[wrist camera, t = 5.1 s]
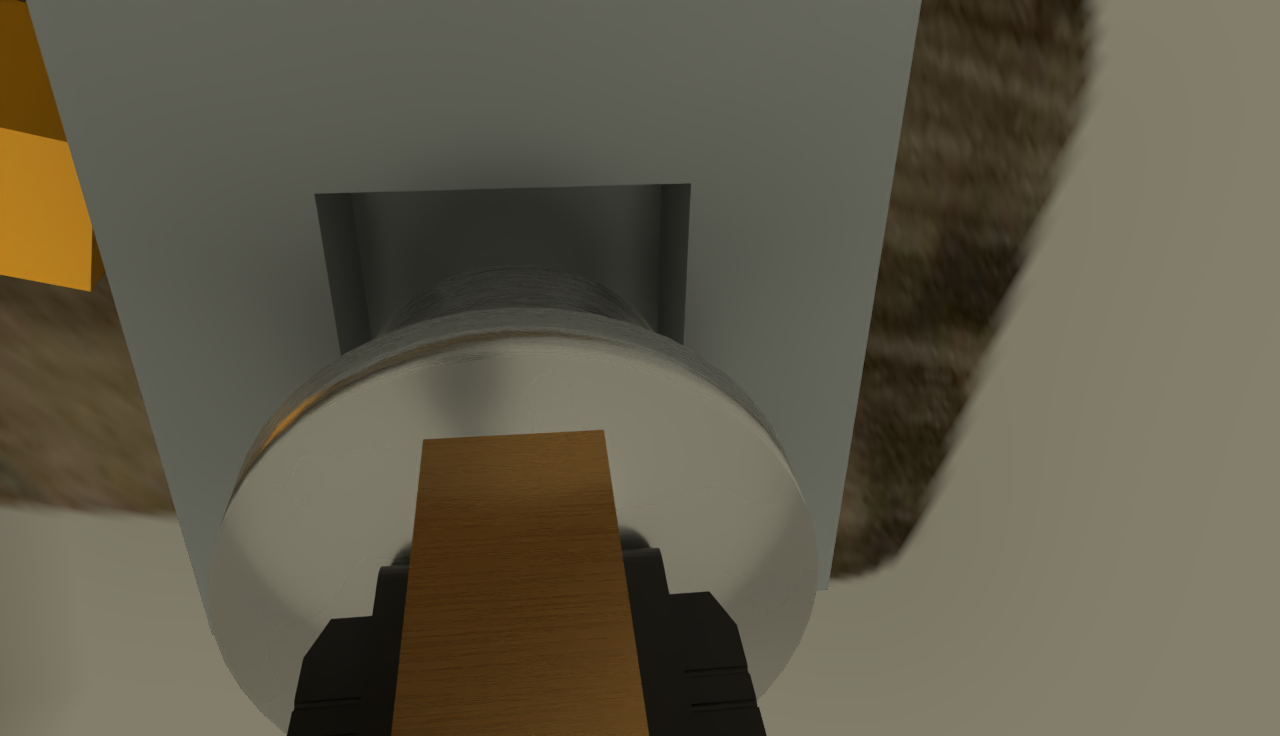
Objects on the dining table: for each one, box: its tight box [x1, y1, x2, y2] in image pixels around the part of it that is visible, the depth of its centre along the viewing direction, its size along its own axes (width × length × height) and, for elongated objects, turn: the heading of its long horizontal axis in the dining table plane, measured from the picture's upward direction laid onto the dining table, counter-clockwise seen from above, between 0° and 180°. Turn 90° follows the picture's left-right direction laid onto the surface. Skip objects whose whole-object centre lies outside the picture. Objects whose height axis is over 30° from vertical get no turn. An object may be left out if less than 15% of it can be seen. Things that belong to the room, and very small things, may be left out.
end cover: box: [208, 265, 818, 736], centre depth 11 cm, size 7×7×9 cm
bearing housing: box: [26, 0, 922, 635], centre depth 20 cm, size 12×12×8 cm
